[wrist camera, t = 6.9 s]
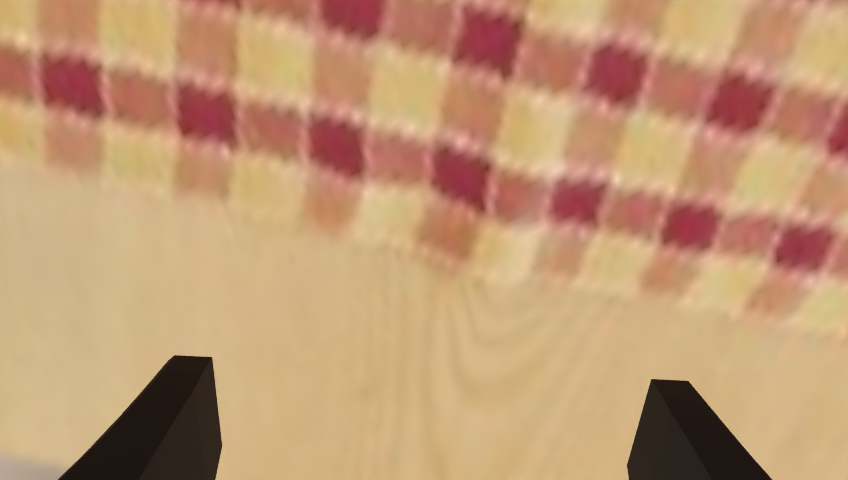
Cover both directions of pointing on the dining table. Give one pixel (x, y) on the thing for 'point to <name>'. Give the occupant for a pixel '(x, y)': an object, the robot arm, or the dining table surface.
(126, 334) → the dining table surface
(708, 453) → the robot arm
